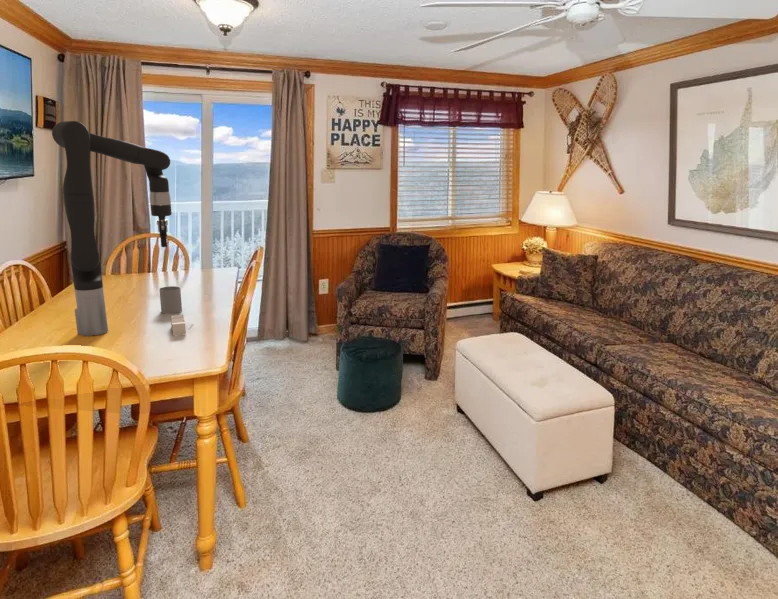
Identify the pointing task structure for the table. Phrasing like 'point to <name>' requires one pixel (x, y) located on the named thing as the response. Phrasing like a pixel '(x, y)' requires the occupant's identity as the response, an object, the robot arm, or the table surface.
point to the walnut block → (178, 325)
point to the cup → (170, 299)
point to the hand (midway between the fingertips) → (164, 246)
